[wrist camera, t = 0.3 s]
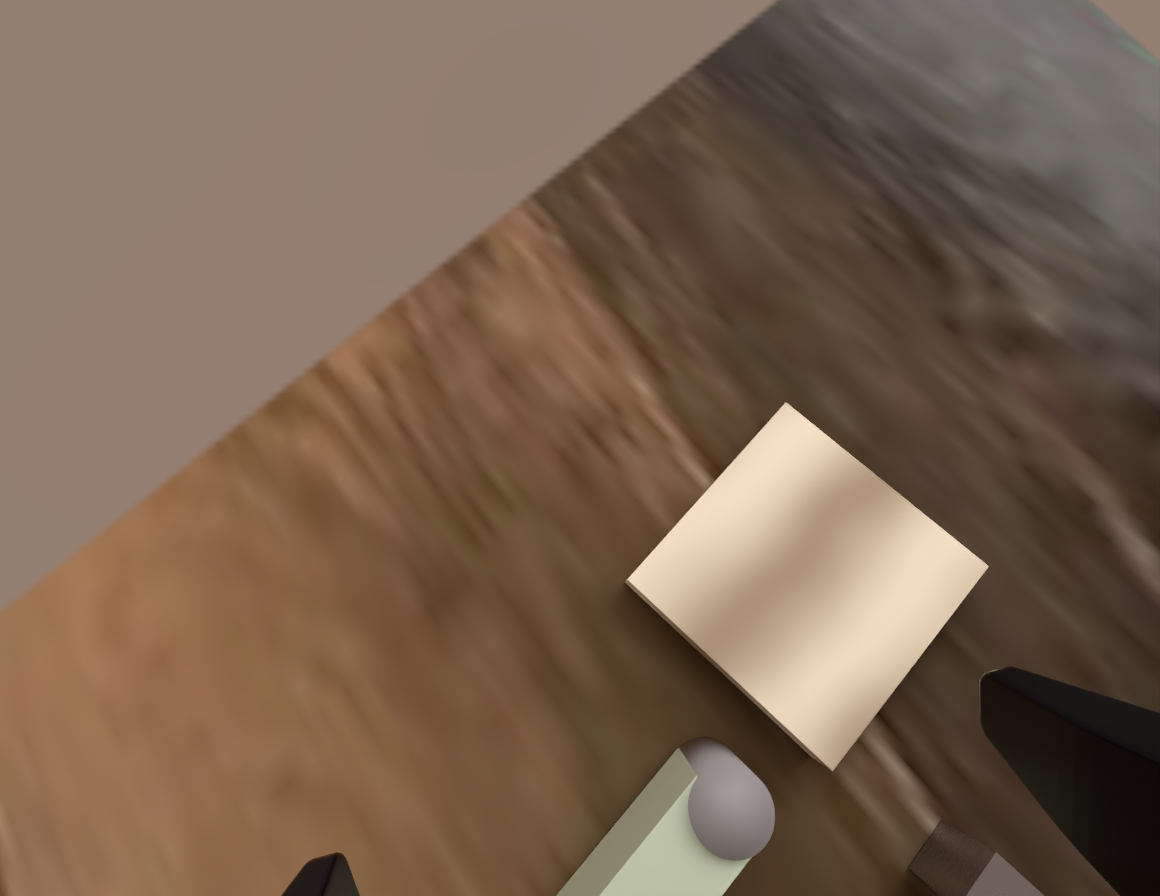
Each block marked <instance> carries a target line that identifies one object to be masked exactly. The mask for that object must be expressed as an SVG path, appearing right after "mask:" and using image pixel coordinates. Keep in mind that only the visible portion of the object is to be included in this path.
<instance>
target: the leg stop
mask: <svg viewBox="0 0 1160 896" xmlns="http://www.w3.org/2000/svg"><path fill="white" fill-rule="evenodd" d="M908 868H909V869H910V870H911V871H912V872H913V873H914V874H915V875H916V876H918V877H919V878H920V879H921V880H922V881H923V882H924V883H925V884H926V885H927V886H928V887H929V888H930V889H931V890H932V891H933V892H934V893H936V894H937V895H938V896H1044V895H1043V894H1042V893H1041V892H1039V891H1038V890H1037V889H1036V888H1035V887H1034V886H1033V885H1032V884H1031V883H1030V882H1028V881H1027V880H1026V879H1025V878H1024V877H1023V876H1022V875H1021V874H1020V873H1019V872H1017V871H1016V870H1015V869H1014V868H1013V867H1012V866H1011V865H1010V864H1009V863H1008V862H1006V861H1005V860H1004V859H1003V858H1002V857H1001V856H1000V855H999V854H998V853H997V852H995V851H993V850H992V849H990V848H988V847H987V846H985V845H983V844H982V843H980V842H978V841H977V840H975V839H973V838H971V837H970V836H968V835H966V834H965V833H963V832H961V831H960V830H958V829H956V828H955V827H953V826H951V825H949V824H948V823H946V822H944V821H943V820H942V821H941V822H940V823H939V825H938V826H937V828H936V829H935V831H934V832H933V833H932V835H931V836H930V838H929V839H928V840H927V842H926V843H925V845H924V846H923V847H922V849H921V850H920V852H919V853H918V854H917V856H916V857H915V859H914V860H913V861H912V863H911V864H910V866H909V867H908Z"/></svg>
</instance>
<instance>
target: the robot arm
mask: <svg viewBox="0 0 1160 896" xmlns="http://www.w3.org/2000/svg"><path fill="white" fill-rule="evenodd" d="M980 722H981V726H982V729H983V731H984V733H985V735H986V737H987V738H988V740H989V741H990V742H991V744H992V745H993V746H994V747H995V749H996V750H997V751H998V752H999V754H1000V755H1001V756H1002V757H1003V759H1004V760H1005V761H1006V762H1007V764H1008V765H1009V766H1010V767H1011V769H1012V770H1013V771H1014V773H1015V774H1016V775H1017V776H1018V778H1019V779H1020V780H1021V781H1022V783H1023V784H1024V785H1025V786H1026V788H1027V789H1028V790H1029V791H1030V793H1031V794H1032V795H1033V796H1034V798H1035V799H1036V800H1037V801H1038V803H1039V804H1040V805H1041V806H1042V808H1043V809H1044V810H1045V811H1046V813H1047V814H1048V815H1049V816H1050V818H1051V819H1052V820H1053V821H1054V823H1055V824H1056V825H1057V826H1058V828H1059V829H1060V830H1061V831H1062V832H1063V834H1064V835H1065V836H1066V837H1067V838H1068V839H1069V841H1070V842H1071V843H1072V844H1073V845H1074V846H1075V847H1076V849H1077V850H1078V851H1079V852H1080V853H1081V854H1082V855H1083V856H1084V857H1085V859H1086V860H1087V861H1088V862H1089V863H1090V864H1091V865H1092V866H1093V867H1094V868H1095V869H1096V870H1097V872H1098V873H1099V874H1100V875H1101V876H1102V877H1103V878H1104V879H1105V880H1106V881H1107V882H1108V883H1109V884H1110V885H1111V886H1112V888H1113V889H1114V890H1115V891H1116V892H1117V893H1118V894H1119V895H1120V896H1160V713H1158V712H1155V711H1151V710H1148V709H1145V708H1142V707H1139V706H1136V705H1132V704H1129V703H1126V702H1123V701H1120V700H1117V699H1113V698H1110V697H1107V696H1104V695H1101V694H1098V693H1094V692H1091V691H1088V690H1085V689H1082V688H1079V687H1075V686H1072V685H1069V684H1066V683H1063V682H1060V681H1056V680H1053V679H1050V678H1047V677H1044V676H1041V675H1037V674H1034V673H1031V672H1028V671H1025V670H1022V669H1018V668H1015V667H1003V668H1000V669H996V670H992V671H989V672H986V673H984V674H983V675H982V677H981V679H980ZM281 896H360V895H359V893H358V890H357V887H356V884H355V882H354V879H353V876H352V873H351V871H350V868H349V865H348V862H347V860H346V858H345V856H344V855H343V854H342V853H333V854H329V855H325V856H322V857H318V858H315V859H312V860H310V861H309V862H307V863H306V864H305V865H304V867H303V868H302V869H301V870H300V872H299V873H298V874H297V876H296V877H295V878H294V880H293V881H292V882H291V884H290V885H289V886H288V887H287V889H286V890H285V891H284V893H283V894H282V895H281Z"/></svg>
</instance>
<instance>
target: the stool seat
mask: <svg viewBox="0 0 1160 896" xmlns="http://www.w3.org/2000/svg"><path fill="white" fill-rule="evenodd" d="M988 567H989V566H988V565H986V564H985V563H984V562H983V561H982V560H980V559H979V558H978V557H977V556H975V555H974V554H973V553H972V552H970V551H969V550H968V549H967V548H965V547H964V546H963V545H962V544H961V543H959V542H958V541H957V540H956V539H954V538H953V537H952V536H951V535H949V534H948V533H947V532H946V531H944V530H943V529H942V528H941V527H939V526H938V525H937V524H936V523H935V522H933V521H932V520H931V519H930V518H928V517H927V516H926V515H925V514H923V513H922V512H921V511H920V510H918V509H917V508H916V507H915V506H913V505H912V504H911V503H910V502H909V501H907V500H906V499H905V498H904V497H902V496H901V495H900V494H899V493H897V492H896V491H895V490H894V489H892V488H891V487H890V486H889V485H888V484H886V483H885V482H884V481H883V480H881V479H880V478H879V477H878V476H876V475H875V474H874V473H873V472H871V471H870V470H869V469H868V468H866V467H865V466H864V465H863V464H862V463H860V462H859V461H858V460H857V459H855V458H854V457H853V456H852V455H850V454H849V453H848V452H847V451H845V450H844V449H843V448H842V447H840V446H839V445H838V444H837V443H836V442H834V441H833V440H832V439H831V438H829V437H828V436H827V435H826V434H824V433H823V432H822V431H821V430H819V429H818V428H817V427H816V426H815V425H813V424H812V423H811V422H810V421H808V420H807V419H806V418H805V417H803V416H802V415H801V414H800V413H798V412H797V411H796V410H795V409H793V408H792V407H791V406H790V405H789V404H787V403H785V404H784V405H783V406H782V407H781V408H780V409H779V410H778V412H777V413H776V414H775V415H774V416H773V417H772V418H771V419H770V420H769V421H768V423H767V424H766V425H765V426H764V427H763V428H762V429H761V430H760V432H759V433H758V434H757V435H756V436H755V437H754V438H753V439H752V440H751V442H750V443H749V444H748V445H747V446H746V447H745V448H744V449H743V451H742V452H741V453H740V454H739V455H738V456H737V457H736V458H735V459H734V461H733V462H732V463H731V464H730V465H729V466H728V467H727V468H726V469H725V471H724V472H723V473H722V474H721V475H720V476H719V477H718V478H717V480H716V481H715V482H714V483H713V484H712V485H711V486H710V487H709V488H708V490H707V491H706V492H705V493H704V494H703V495H702V496H701V497H700V499H699V500H698V501H697V502H696V503H695V504H694V505H693V506H692V507H691V509H690V510H689V511H688V512H687V513H686V514H685V515H684V516H683V517H682V519H681V520H680V521H679V522H678V523H677V524H676V525H675V526H674V528H673V529H672V530H671V531H670V532H669V533H668V534H667V535H666V536H665V538H664V539H663V540H662V541H661V542H660V543H659V544H658V545H657V547H656V548H655V549H654V550H653V551H652V552H651V553H650V554H649V555H648V557H647V558H646V559H645V560H644V561H643V562H642V563H641V564H640V565H639V567H638V568H637V569H636V570H635V571H634V572H633V573H632V574H631V576H630V577H629V578H628V579H627V580H626V581H625V583H626V584H627V585H628V586H629V587H630V588H631V589H632V590H633V591H635V592H636V593H637V594H638V595H639V596H640V597H641V598H642V599H643V600H644V601H645V602H646V603H647V604H648V605H649V606H651V607H652V608H653V609H654V610H655V611H656V612H657V613H658V614H659V615H660V616H661V617H662V618H663V619H664V620H666V621H667V622H668V623H669V624H670V625H671V626H672V627H673V628H674V629H675V630H676V631H677V632H678V633H679V634H680V635H682V636H683V637H684V638H685V639H686V640H687V641H688V642H689V643H690V644H691V645H692V646H693V647H694V648H695V649H696V650H698V651H699V652H700V653H701V654H702V655H703V656H704V657H705V658H706V659H707V660H708V661H709V662H710V663H711V664H713V665H714V666H715V667H716V668H717V669H718V670H719V671H720V672H721V673H722V674H723V675H724V676H725V677H726V678H727V679H729V680H730V681H731V682H732V683H733V684H734V685H735V686H736V687H737V688H738V689H739V690H740V691H741V692H742V693H744V694H745V695H746V696H747V697H748V698H749V699H750V700H751V701H752V702H753V703H754V704H755V705H756V706H757V707H758V708H760V709H761V710H762V711H763V712H764V713H765V714H766V715H767V716H768V717H769V718H770V719H771V720H772V721H773V722H774V723H776V724H777V725H778V726H779V727H780V728H781V729H782V730H783V731H784V732H785V733H786V734H787V735H788V736H789V737H791V738H792V739H793V740H794V741H795V742H796V743H797V744H798V745H799V746H800V747H801V748H802V749H803V750H804V751H805V752H807V753H808V754H809V755H810V756H811V757H812V758H813V759H815V760H816V761H818V762H820V763H821V764H823V765H824V766H826V767H827V768H829V769H830V770H832V771H833V770H834V769H835V767H836V766H837V765H838V763H839V762H840V761H841V760H842V758H843V757H844V756H845V754H846V753H847V752H848V750H849V749H850V748H851V746H852V745H853V744H854V742H855V741H856V740H857V739H858V737H859V736H860V735H861V733H862V732H863V731H864V729H865V728H866V727H867V725H868V724H869V723H870V722H871V720H872V719H873V718H874V716H875V715H876V714H877V712H878V711H879V710H880V708H881V707H882V706H883V704H884V703H885V702H886V701H887V699H888V698H889V697H890V695H891V694H892V693H893V691H894V690H895V689H896V687H897V686H898V685H899V683H900V682H901V681H902V680H903V678H904V677H905V676H906V674H907V673H908V672H909V670H910V669H911V668H912V666H913V665H914V664H915V663H916V661H917V660H918V659H919V657H920V656H921V655H922V653H923V652H924V651H925V649H926V648H927V647H928V645H929V644H930V643H931V642H932V640H933V639H934V638H935V636H936V635H937V634H938V632H939V631H940V630H941V628H942V627H943V626H944V625H945V623H946V622H947V621H948V619H949V618H950V617H951V615H952V614H953V613H954V611H955V610H956V609H957V607H958V606H959V605H960V604H961V602H962V601H963V600H964V598H965V597H966V596H967V594H968V593H969V592H970V590H971V589H972V588H973V586H974V585H975V584H976V583H977V581H978V580H979V579H980V577H981V576H982V575H983V573H984V572H985V571H986V569H987V568H988Z"/></svg>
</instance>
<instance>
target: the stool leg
mask: <svg viewBox="0 0 1160 896" xmlns="http://www.w3.org/2000/svg"><path fill="white" fill-rule="evenodd" d="M774 824H775V809H774V804H773V801H772V798H771V795H770V793H769V791H768V789H767V788H766V786H765V785H764V784H763V782H762V781H761V780H760V779H759V778H758V777H757V776H756V775H755V774H754V773H753V772H752V771H751V770H750V769H749V768H748V767H747V766H746V765H745V764H744V763H743V762H742V761H741V760H740V759H739V758H738V757H737V756H736V755H735V754H734V753H733V752H732V751H731V750H730V749H729V748H728V747H727V746H725V745H724V744H723V743H721V742H720V741H718V740H716V739H713V738H709V737H698V738H694V739H691V740H689V741H687V742H686V743H685V744H683V745H682V746H681V747H680V748H677V750H676V751H675V752H674V753H673V754H672V756H671V757H670V758H669V759H668V761H667V762H666V763H665V764H664V765H663V767H662V768H661V769H660V770H659V771H658V773H657V774H656V775H655V776H654V778H653V779H652V780H651V781H650V782H649V784H648V785H647V786H646V787H645V788H644V790H643V791H642V792H641V793H640V795H639V796H638V797H637V798H636V799H635V801H634V802H633V803H632V804H631V805H630V807H629V808H628V809H627V810H626V811H625V813H624V814H623V815H622V816H621V818H620V819H619V820H618V821H617V822H616V824H615V825H614V826H613V827H612V828H611V830H610V831H609V832H608V833H607V835H606V836H605V837H604V838H603V839H602V841H601V842H600V843H599V844H598V845H597V847H596V848H595V849H594V850H593V852H592V853H591V854H590V855H589V856H588V858H587V859H586V860H585V861H584V862H583V864H582V865H581V866H580V867H579V869H578V870H577V871H576V872H575V873H574V875H573V876H572V877H571V878H570V879H569V881H568V882H567V883H566V884H565V886H564V887H563V888H562V889H561V890H560V892H559V893H558V894H557V895H556V896H722V895H723V894H724V892H725V891H726V890H727V888H728V887H729V886H730V885H731V883H732V882H733V881H734V879H735V878H736V877H737V875H738V874H739V873H740V872H741V870H742V869H743V868H744V866H745V865H746V864H747V862H748V861H749V860H750V859H751V857H753V856H754V855H756V854H758V853H759V852H760V851H761V850H762V849H763V848H764V847H765V846H766V844H767V843H768V841H769V839H770V837H771V835H772V832H773V829H774Z"/></svg>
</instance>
